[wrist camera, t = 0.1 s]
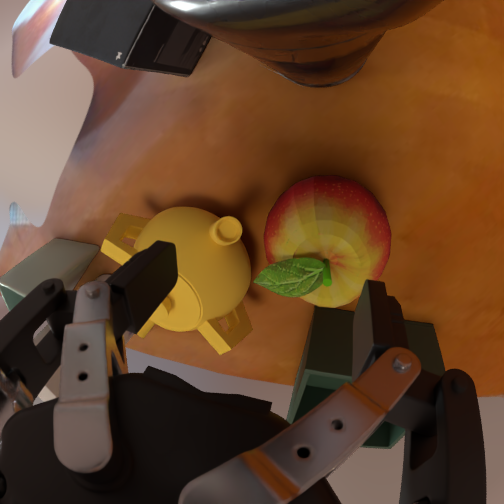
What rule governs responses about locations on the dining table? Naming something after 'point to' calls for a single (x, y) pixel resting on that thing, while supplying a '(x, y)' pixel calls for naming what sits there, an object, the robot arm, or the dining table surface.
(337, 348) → the open-top storage bin
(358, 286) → the fruit
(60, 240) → the planter
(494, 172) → the dining table surface
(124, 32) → the box
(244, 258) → the teapot
